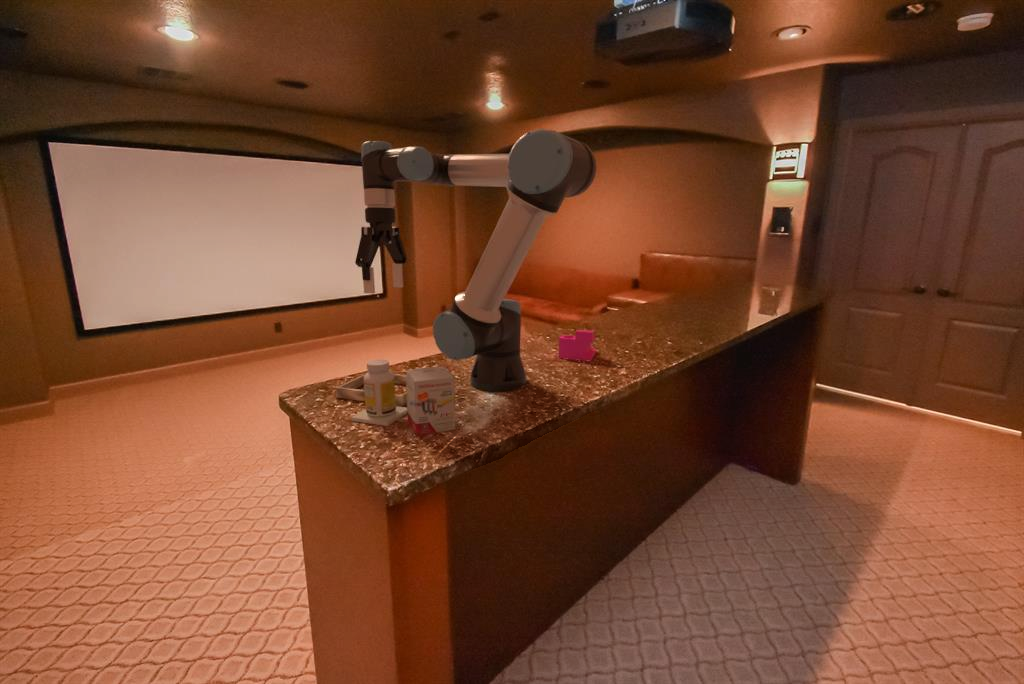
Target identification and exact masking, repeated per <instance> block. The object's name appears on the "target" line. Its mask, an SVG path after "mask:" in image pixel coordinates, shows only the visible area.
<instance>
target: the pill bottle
mask: <svg viewBox="0 0 1024 684" xmlns="http://www.w3.org/2000/svg"><path fill="white" fill-rule="evenodd" d="M366 369H367V371H368V372H366V373H367V374H366V373H365V374H366V375H365V376H364V385H363V390H364V391H365V401H364V402H365V409H366V413H367V414H368V415H370V416H373V417H383V416H388V415H391V414H393V413H394V412H395V410H396V399H395V394H396V386H395V385H396V383H395V382H394V375H393V374H394V373H393V372H392V371H390V370H389V369H390V361H389V360H387V359H372V360H369V361H367V362H366Z"/></svg>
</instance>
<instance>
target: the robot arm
mask: <svg viewBox="0 0 1024 684" xmlns="http://www.w3.org/2000/svg"><path fill="white" fill-rule="evenodd" d="M360 161H361V170H362V183H363V184H362V185H363V195H364V197H363V198H364V205H365V206H366V207H365V209H364V214H365V215H364V216H365V217H364V219H365V220H364V221H365V222H366V223H368V224H369V226H367V225H365V226H363V225H362V226H361V230H360V231H361V233H360V234H361V235H360V239H359V245H358V248H357V253H356V256H355V262H354V263H355V265H357V267H358V268H361V274H362V275H361V276H362V283H363V294H376V290H375V288H376V287H375V286H376V285H375V272H374V271H375V270H374V266H373V267H372V264H373V262H374V260H375V257H376V254H377V252H378V250H379V248H380V247H381V246H382V245H383V246H385V248H386V249H387V252H388V254H389V255H390V257H391V259H392V261H393V263H391V267H392V285H393V286H392V287H393V288H404V280H403V279H404V275H403V273H404V272H403V264H407V259H408V258H407V254H406V251H405V247H404V245H403V240H402V237H401V233H400V227H399V226H393V224H395V223H396V220H397V219H396V209H395V208H394V207H395V206H396V197H395V196H396V194H395V183H396V182H397V183H398V182H411V183H412V182H413V183H419V184H430V185H436V186H443V187H456V186H461V187H462V186H463V187H464V186H465V187H466V186H467V187H492V188H493V187H494V188H495V187H497V188H499V187H500V188H506V190H507V191H506V192H507V194H508V200H507V202H506V203H505V206H504V209H503V211H502V213H501V215H500V217H499V218H498V221H497V224H496V226H495V228H494V230H493V232H492V234H491V237H490V238H489V240H488V243H487V245H486V246H485V249H484V251H483V253H482V255H481V257H480V259H479V261H478V264H477V266H476V267H475V271H474V272H473V274H472V277H471V278H470V281H469V283H468V285H467V287H466V289H465V291H462V292H459V293H457V294H456V295H455V297H454V299H453V301H452V303H451V305H450V307H449V309H448V310H446V311H443V312H440V314H438V315H437V316H436V317H435V318H434V321H433V323H432V324H433V325H432V336H433V338H434V340H435V345H436V347H437V349H438V350H439V351H440V352H441V353H442V354H443V355H444V356H445V357H446V358H448V359H450V360H453V361H462V360H468V359H470V358H471V357H474V356H476V357H475V358H474V359H475V360H474V362H473V366H472V369H471V372H470V378H469V379H470V381H469V382H470V383H469V384H470V386H471V387H473V388H475V389H477V390H481V391H484V392H500V393H501V391H503V392H510V391H509V390H512V391H516V390H515V389H517V390H519V389H518V388H520V389H522V388H523V387H522V386H524V385H525V384H526V385H527V372H526V370H525V366H524V363H523V360H522V358H521V328H522V327H521V325H522V322H521V321H522V320H521V319H522V318H521V317H522V312H521V304H520V302H519V301H518V300H516V299H508V298H505V297H506V296H507V293H508V291H509V290H510V287H511V286H512V284H513V282H514V280H515V278H516V276H517V274H518V272H519V271H520V268H521V267H522V265H523V262H524V260H525V259H526V257H527V254H528V253H529V251H530V249H531V247H532V245H533V243H534V241H535V240H536V238H537V236H538V234H539V232H540V230H541V229H542V226H543V225H544V223H545V220H547V219H546V218H547V217H550V216H554V215H557V213H558V212H559V210H560V207H562V204H563V202H564V200H565V198H574V197H576V196H580V195H582V194H583V193H585V192H586V191H587V190H588V189H589V188H590V187H591V186H592V184H593V182H594V180H595V178H596V175H597V169H598V167H597V166H598V165H597V160H596V156H595V154H594V152H593V151H592V149H591V148H590V147H589V145H587V144H586V143H584V142H582V141H581V140H578V139H575V138H572V137H569V136H567V135H565V134H562V133H561V132H558V131H556V130H551V129H543V128H542V129H541V128H540V129H534V130H531V131H529V132H526V133H524V134H523V135H522V136H520V137H519V138H518V139H517V141H516V142H515V143H514V144H513V146H512V148H511V150H510V152H509V153H478V154H477V153H476V154H475V153H474V154H468V153H467V154H465V153H464V154H463V153H462V154H442V153H441V154H439V153H434V152H430V151H428V150H427V148H425V147H423V146H412V145H411V146H406V147H399V148H393V146H392V144H391V143H390V142H386V141H381V140H380V141H379V140H368V141H365V142H363V143H362V144H361V157H360ZM526 385H525V386H526ZM525 386H524V387H525ZM521 387H522V388H521Z"/></svg>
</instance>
